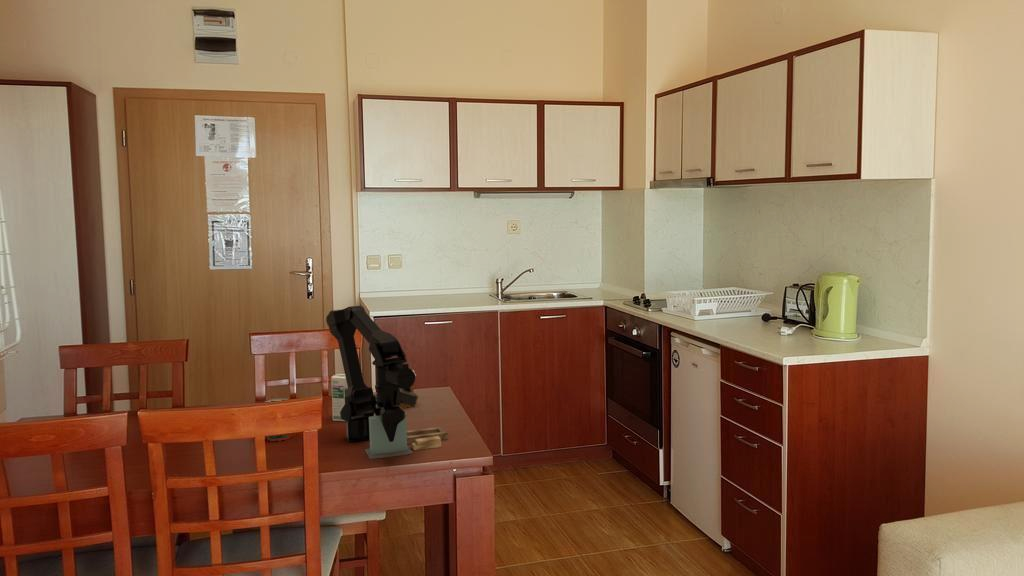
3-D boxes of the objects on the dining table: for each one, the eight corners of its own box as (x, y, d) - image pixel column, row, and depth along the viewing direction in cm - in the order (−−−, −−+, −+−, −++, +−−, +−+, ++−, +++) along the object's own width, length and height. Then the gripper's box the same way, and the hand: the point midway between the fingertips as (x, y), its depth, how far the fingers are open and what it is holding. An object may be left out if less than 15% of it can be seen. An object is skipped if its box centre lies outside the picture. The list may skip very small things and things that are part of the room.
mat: (369, 459, 211) (369, 458, 211) (365, 450, 219) (364, 449, 218) (412, 453, 215) (412, 452, 215) (406, 445, 223) (406, 444, 223)
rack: (397, 445, 222) (397, 439, 222) (392, 439, 229) (392, 432, 228) (447, 439, 228) (447, 433, 227) (441, 433, 234) (441, 426, 233)
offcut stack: (414, 450, 218) (413, 442, 218) (411, 447, 221) (411, 439, 221) (441, 447, 221) (441, 438, 221) (438, 443, 224) (438, 435, 223)
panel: (371, 454, 214) (370, 419, 213) (370, 451, 217) (368, 416, 215) (407, 450, 217) (406, 415, 216) (405, 447, 220) (404, 412, 219)
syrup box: (332, 421, 248) (330, 376, 246) (340, 415, 253) (338, 372, 252) (348, 422, 246) (346, 377, 245) (356, 416, 252) (354, 373, 250)
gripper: (422, 387, 209) (424, 443, 210) (407, 372, 226) (409, 424, 228) (381, 391, 205) (383, 448, 207) (369, 376, 222) (371, 428, 224)
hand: (388, 436), depth 216 cm, fingers open, 9 cm apart
